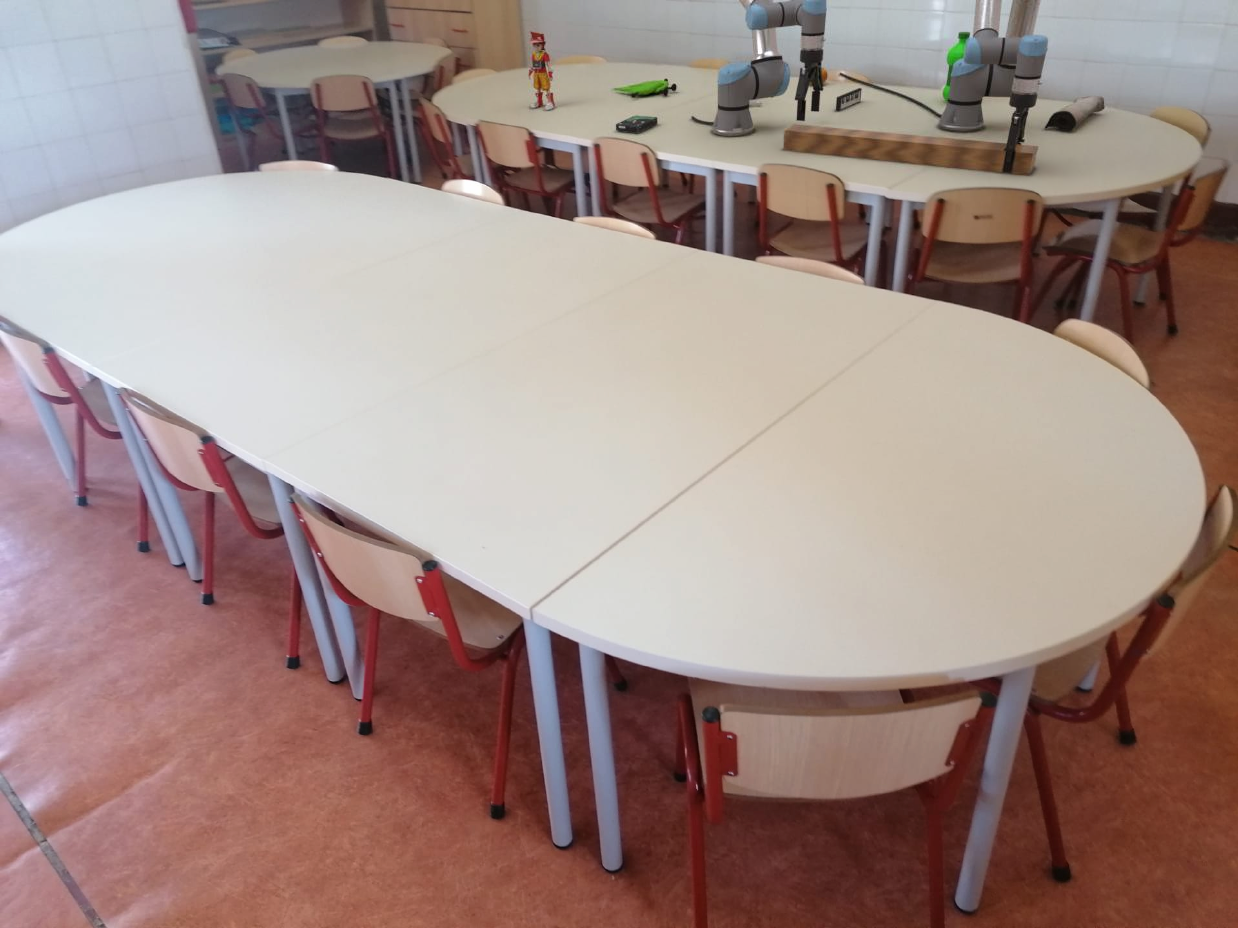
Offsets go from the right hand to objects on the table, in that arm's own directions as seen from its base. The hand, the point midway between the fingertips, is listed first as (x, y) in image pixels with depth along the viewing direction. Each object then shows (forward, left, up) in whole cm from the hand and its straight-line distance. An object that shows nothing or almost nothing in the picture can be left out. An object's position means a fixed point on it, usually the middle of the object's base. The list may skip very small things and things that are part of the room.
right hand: (1009, 167), depth 283 cm
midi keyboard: (-89, -33, 0) cm, 95 cm away
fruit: (-130, -39, 0) cm, 135 cm away
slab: (-17, -29, 0) cm, 34 cm away
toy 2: (-133, -116, 0) cm, 176 cm away
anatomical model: (-103, -72, 0) cm, 126 cm away
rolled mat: (-50, +40, 0) cm, 65 cm away
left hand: (-34, -59, +11) cm, 69 cm away
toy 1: (-114, -158, 0) cm, 195 cm away
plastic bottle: (-87, +8, 0) cm, 87 cm away
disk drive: (-73, -118, 0) cm, 138 cm away
